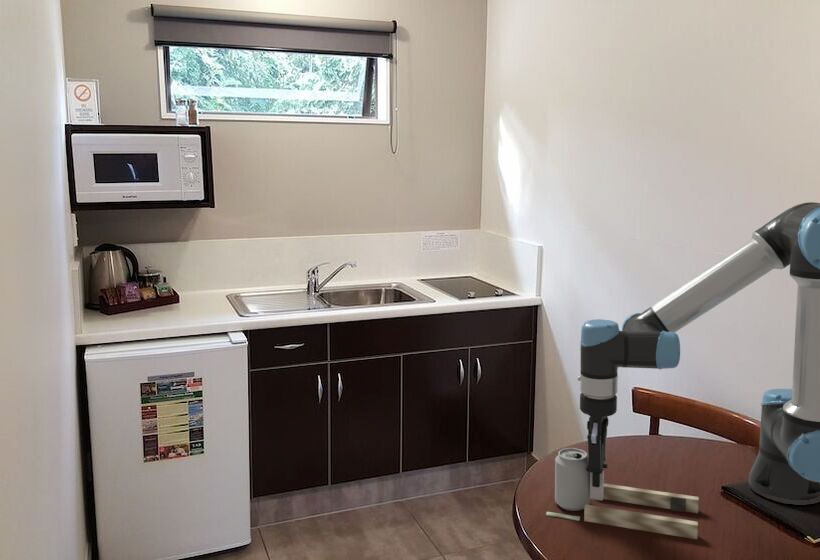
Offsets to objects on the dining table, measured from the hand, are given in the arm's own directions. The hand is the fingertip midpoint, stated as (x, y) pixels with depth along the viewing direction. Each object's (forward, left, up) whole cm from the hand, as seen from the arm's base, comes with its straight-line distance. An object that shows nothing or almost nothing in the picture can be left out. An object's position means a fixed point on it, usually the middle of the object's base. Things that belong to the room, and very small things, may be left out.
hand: (596, 498), depth 157 cm
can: (+5, 0, -3) cm, 6 cm away
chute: (-5, 0, -2) cm, 6 cm away
